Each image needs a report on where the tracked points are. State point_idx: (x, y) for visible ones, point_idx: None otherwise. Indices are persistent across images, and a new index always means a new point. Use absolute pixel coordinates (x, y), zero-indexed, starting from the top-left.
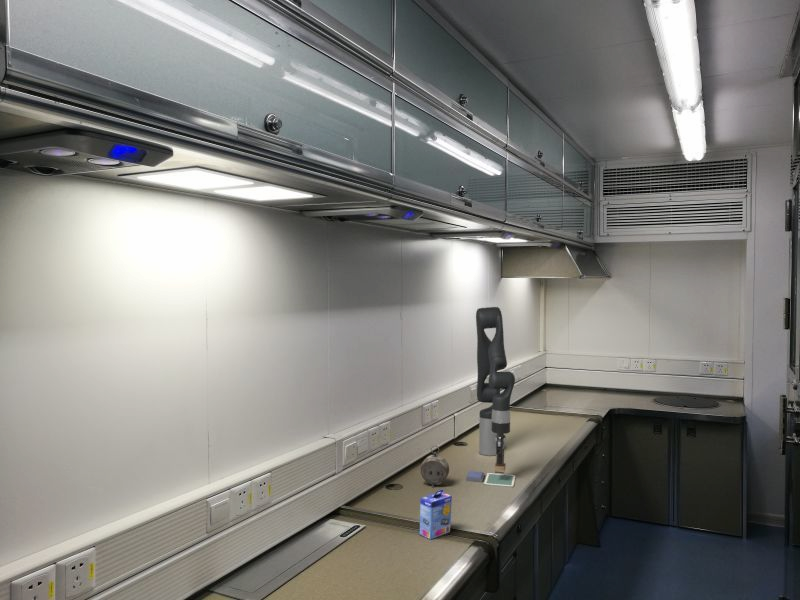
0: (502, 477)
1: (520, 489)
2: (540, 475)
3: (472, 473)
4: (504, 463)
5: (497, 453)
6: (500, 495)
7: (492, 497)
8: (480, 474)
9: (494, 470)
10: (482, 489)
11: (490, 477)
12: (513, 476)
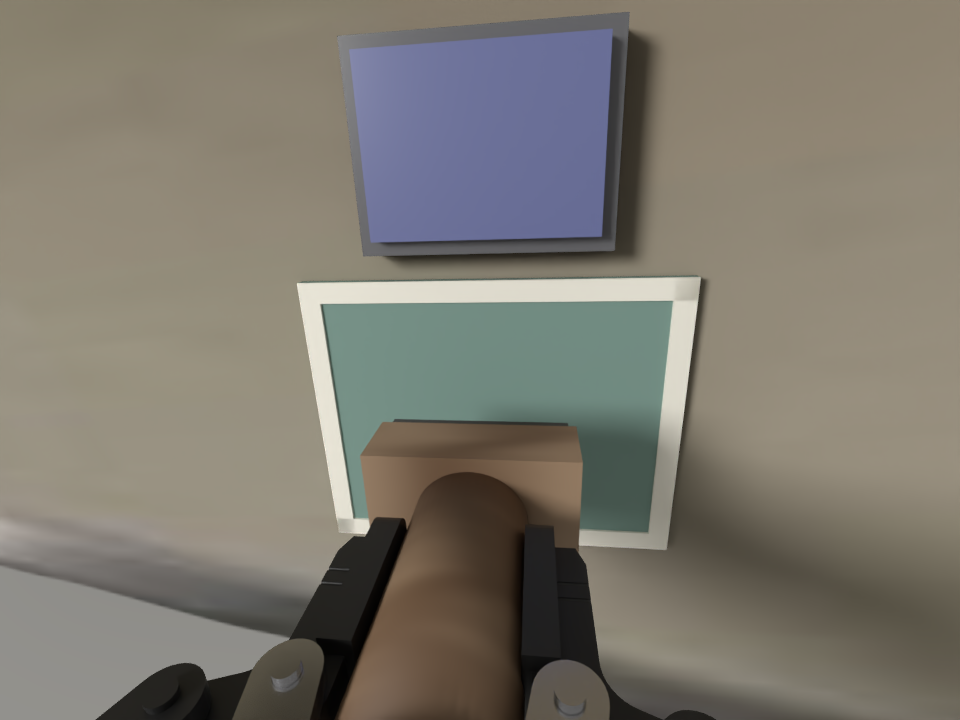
0: None
1: (316, 571)
2: (729, 710)
3: (495, 97)
4: None
5: (150, 704)
6: (109, 443)
7: (31, 388)
8: (485, 217)
9: (377, 429)
10: (165, 285)
11: (536, 326)
12: (622, 533)
